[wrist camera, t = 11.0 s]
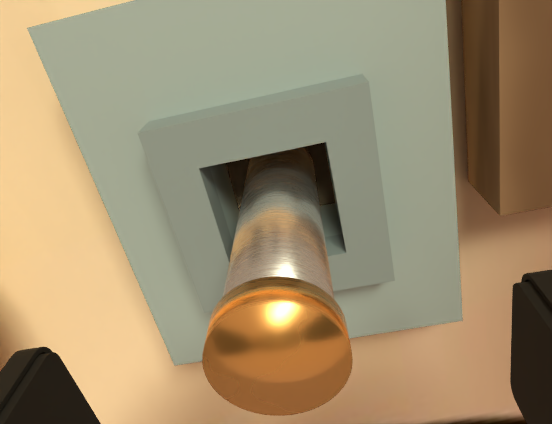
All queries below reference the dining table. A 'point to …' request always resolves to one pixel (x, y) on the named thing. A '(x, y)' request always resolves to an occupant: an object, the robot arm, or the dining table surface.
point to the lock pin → (278, 298)
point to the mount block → (509, 101)
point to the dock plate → (248, 63)
